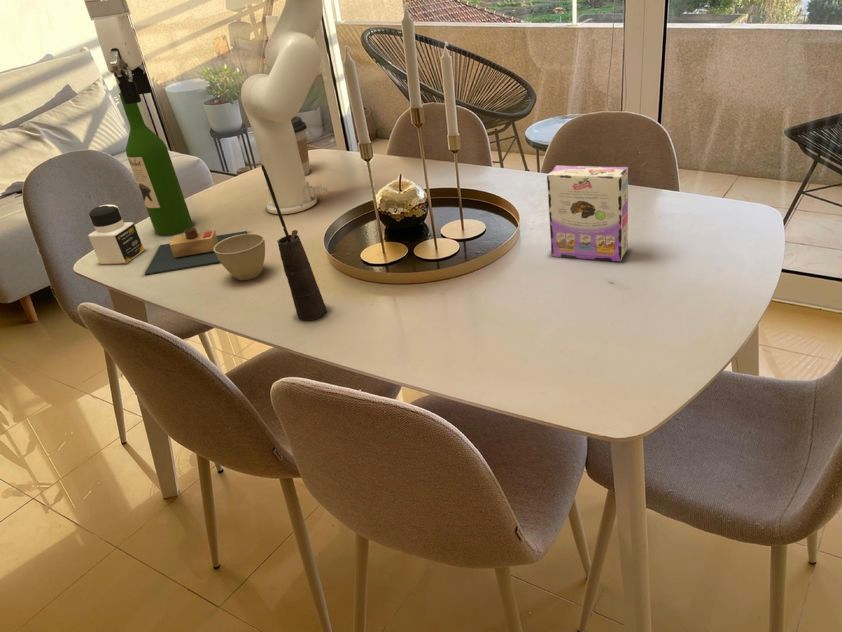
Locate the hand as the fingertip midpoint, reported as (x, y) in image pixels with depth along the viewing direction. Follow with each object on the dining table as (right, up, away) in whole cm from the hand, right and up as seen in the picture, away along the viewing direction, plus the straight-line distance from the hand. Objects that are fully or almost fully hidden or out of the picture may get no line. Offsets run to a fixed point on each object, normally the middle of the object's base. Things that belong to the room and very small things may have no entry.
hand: (139, 98), depth 147 cm
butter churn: (+42, -46, -21) cm, 66 cm away
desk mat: (+9, -32, +9) cm, 34 cm away
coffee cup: (+21, -3, +52) cm, 56 cm away
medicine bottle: (-9, -32, +12) cm, 36 cm away
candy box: (+93, -35, -13) cm, 100 cm away
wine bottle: (-3, -24, +24) cm, 34 cm away
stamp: (+9, -31, +9) cm, 34 cm away
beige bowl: (+25, -38, -4) cm, 46 cm away
